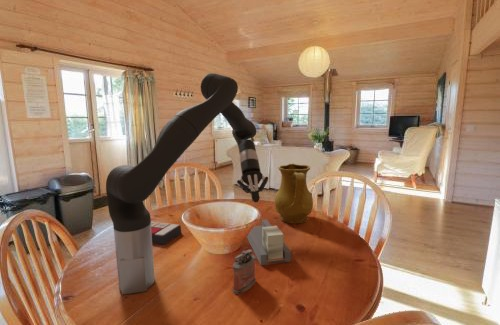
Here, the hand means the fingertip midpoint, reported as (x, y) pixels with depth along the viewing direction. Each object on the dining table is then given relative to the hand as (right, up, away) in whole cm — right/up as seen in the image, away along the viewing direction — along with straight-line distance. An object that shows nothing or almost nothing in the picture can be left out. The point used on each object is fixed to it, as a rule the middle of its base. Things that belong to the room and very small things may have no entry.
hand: (256, 201), depth 101 cm
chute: (+3, -15, -2) cm, 16 cm away
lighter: (-4, -19, -27) cm, 34 cm away
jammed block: (+5, -15, -12) cm, 20 cm away
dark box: (-39, -15, +5) cm, 42 cm away
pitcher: (+17, -11, +21) cm, 29 cm away
